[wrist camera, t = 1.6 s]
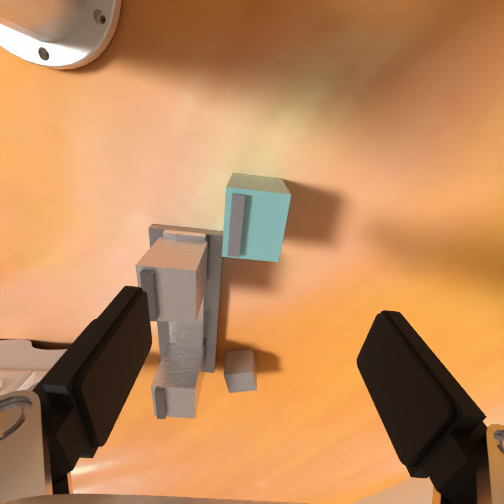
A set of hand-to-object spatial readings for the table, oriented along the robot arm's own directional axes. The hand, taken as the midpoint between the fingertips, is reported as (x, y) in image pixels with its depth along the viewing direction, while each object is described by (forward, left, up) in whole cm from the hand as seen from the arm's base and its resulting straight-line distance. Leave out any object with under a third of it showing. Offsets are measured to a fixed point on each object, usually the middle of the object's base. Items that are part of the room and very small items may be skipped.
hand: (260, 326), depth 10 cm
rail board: (+15, -7, -18) cm, 24 cm away
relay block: (+24, +1, -18) cm, 30 cm away
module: (0, 0, -18) cm, 18 cm away
